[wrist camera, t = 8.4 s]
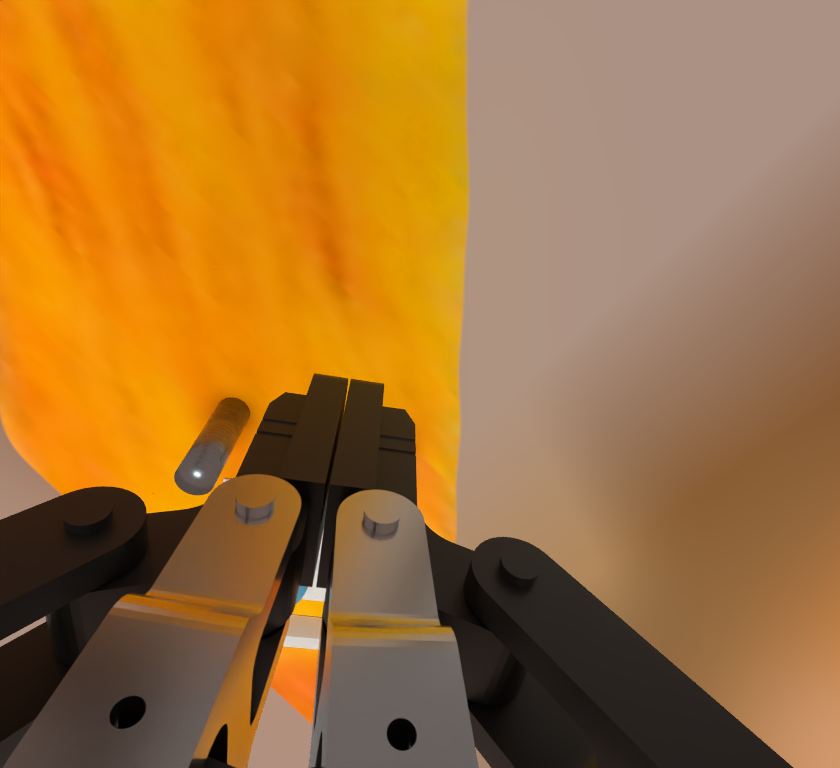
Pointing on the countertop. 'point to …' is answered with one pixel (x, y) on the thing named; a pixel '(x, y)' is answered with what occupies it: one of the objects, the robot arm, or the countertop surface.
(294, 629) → the stopper wall
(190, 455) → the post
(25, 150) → the countertop surface
